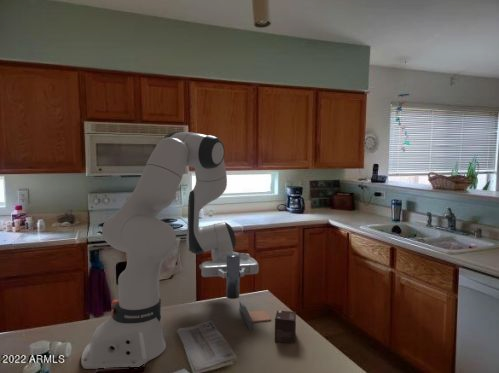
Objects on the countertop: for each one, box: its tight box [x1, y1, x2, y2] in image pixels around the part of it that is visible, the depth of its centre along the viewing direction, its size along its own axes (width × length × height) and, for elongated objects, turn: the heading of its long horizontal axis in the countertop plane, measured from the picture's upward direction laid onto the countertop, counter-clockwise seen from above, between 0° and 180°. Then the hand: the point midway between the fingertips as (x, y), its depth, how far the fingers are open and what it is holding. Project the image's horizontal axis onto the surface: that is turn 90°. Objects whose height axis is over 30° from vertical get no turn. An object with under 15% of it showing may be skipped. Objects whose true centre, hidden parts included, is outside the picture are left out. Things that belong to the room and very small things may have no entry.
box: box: [274, 310, 297, 344], centre depth 108 cm, size 6×6×7 cm
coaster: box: [248, 309, 272, 323], centre depth 122 cm, size 7×7×1 cm
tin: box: [225, 254, 241, 300], centre depth 118 cm, size 4×4×14 cm
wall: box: [239, 300, 254, 331], centre depth 120 cm, size 1×16×3 cm, turn 13°
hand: (233, 275), depth 117 cm, fingers closed on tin, 4 cm apart
